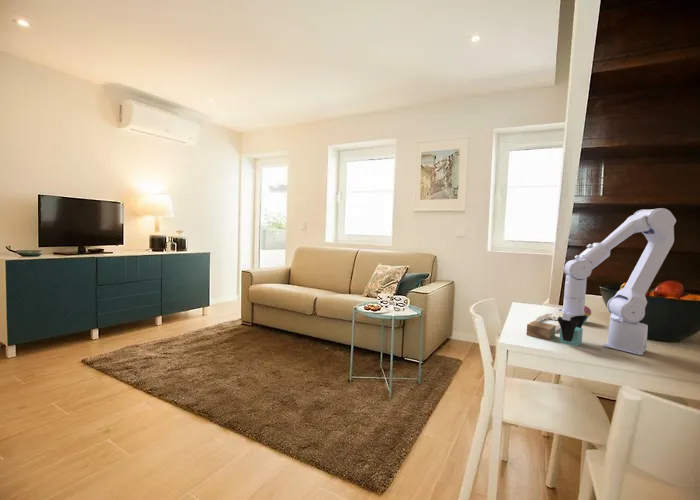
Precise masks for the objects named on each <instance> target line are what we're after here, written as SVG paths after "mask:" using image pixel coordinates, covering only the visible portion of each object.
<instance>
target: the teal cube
mask: <svg viewBox="0 0 700 500" xmlns="http://www.w3.org/2000/svg"><path fill="white" fill-rule="evenodd" d="M583 330H584V328H582V327H581V328H578V327H576V328H575V331H574V334H573V338H572V341H571V342H569V341H565V340H563V336H562V330H561V329H560V330H559V343H561V344H565V345H570V346H573V347H579V346H580V345H582V342H583V333H584V332H583Z"/></svg>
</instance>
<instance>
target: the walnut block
mask: <svg viewBox="0 0 700 500" xmlns="http://www.w3.org/2000/svg"><path fill="white" fill-rule="evenodd" d="M555 329H556V324H551V323H547V322H542V321H539V322H537V321H534V320H533V321H531V322H529V323H527V324H526V336H528V337H533V338H537V339H541V340H545V341H551V340H552V339H553V338H554V337H555V336H556V332H555Z"/></svg>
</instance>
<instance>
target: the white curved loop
mask: <svg viewBox="0 0 700 500" xmlns="http://www.w3.org/2000/svg"><path fill="white" fill-rule="evenodd" d="M562 316H563V314H561V315H559V316H558V315H554V314H553V313H550V312H548V313H547V312H546V313H545V314H542V315H539V316H538V317H536V318H535V319H534V320H533V321H537V322H542V321H544V319H545V320H551V321H552V320H553V321H554V320H555V321H556V320H558V317H562ZM555 325H556V324H555ZM560 329H561V326H560V324H559V323H558V324H557V325H556V329H555V333H556V332H558V331H560Z"/></svg>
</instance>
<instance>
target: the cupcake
mask: <svg viewBox="0 0 700 500" xmlns="http://www.w3.org/2000/svg"><path fill="white" fill-rule="evenodd" d="M584 312H585V314H584V315H586V316H587V319H586V320H585V321H584V323H583V325H584V324H586V322H587V320H588V319H589V317H590V316H591V315H592V310H591V309H590V307H588V306H587V305H584Z"/></svg>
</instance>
